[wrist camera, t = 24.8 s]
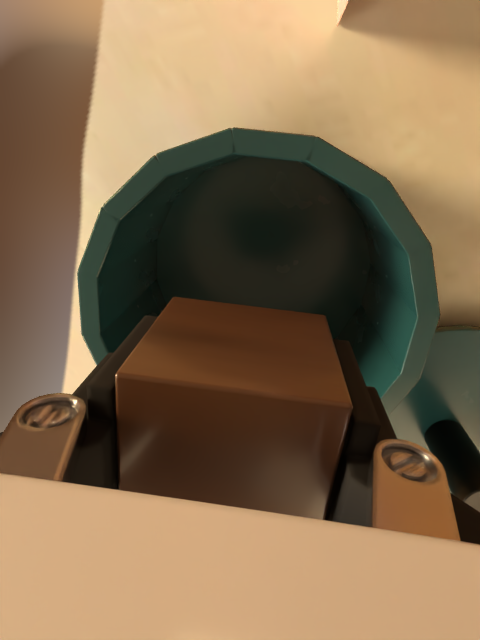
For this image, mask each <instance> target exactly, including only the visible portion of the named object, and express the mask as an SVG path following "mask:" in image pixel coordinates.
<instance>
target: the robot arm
mask: <svg viewBox="0 0 480 640" xmlns="http://www.w3.org/2000/svg"><path fill="white" fill-rule="evenodd" d="M157 318H158V317H155V316H147V315H145V316H144V317H143V318H142V320H141V321H140V322H139V323H138V324H137V325H136V327H135V328H134V329H133V330H132V331H131V333H130V334H129V335H128V336H127V337H126V339H125V340H124V341H123V342H122V343H121V345H120V346H119V347H118V348H117V349H116V351H115V352H114V353H108V354H107V355H106V356H105V357H104V358H103V359H102V361H101V362H100V363H99V364H98V365H97V366H96V368H95V369H94V370H93V371H92V372H91V373H90V374H89V376H88V377H87V378H86V379H85V380H84V381H83V383H82V384H81V385H80V386H79V387H78V388H77V390H76V391H75V392H74V393H73V394H72V395H71V394H64V393H56V394H47V395H43V396H39V397H37V398H34V399H32V400H30V401H28V402H26V403H25V404H23V405H22V406H21V407H20V408H19V409H18V410H17V411H16V413H15V414H14V416H13V417H12V419H11V421H10V422H9V424H8V426H7V427H6V429H5V430H4V432H1V433H0V640H480V512H479V511H477V510H476V509H474V508H473V507H471V506H470V505H468V504H467V503H465V502H464V501H462V500H460V499H459V498H457V497H456V496H454V495H453V494H451V493H450V490H449V486H448V481H447V477H446V472H445V470H444V467H443V465H442V463H441V462H440V461H439V460H438V459H437V457H436V456H434V455H433V454H432V453H431V452H429V451H428V450H427V449H425V448H423V447H421V446H419V445H418V444H415V443H412V442H410V441H407V440H402V439H397V437H396V435H395V432H394V430H393V427H392V425H391V423H390V420H389V418H388V416H387V413H386V411H385V408H384V406H383V404H382V401H381V399H380V397H379V394H378V392H377V390H376V388H375V387H371V386H366V384H365V381H364V379H363V376H362V374H361V371H360V368H359V366H358V363H357V360H356V358H355V355H354V353H353V350H352V347H351V345H350V342H349V341H345V340H337V339H333V342H334V345H335V349H336V352H337V355H338V359H339V362H340V365H341V369H342V372H343V375H344V379H345V382H346V385H347V389H348V392H349V395H350V399H351V402H352V406H353V408H352V412H351V416H350V420H349V424H348V428H347V432H346V436H345V440H344V444H343V448H342V452H341V456H340V460H339V464H338V468H337V471H336V475H335V479H334V483H333V487H332V491H331V495H330V499H329V503H328V507H327V511H326V515H325V519H324V520H319V519H313V518H306V517H299V516H292V515H286V514H279V513H272V512H265V511H259V510H252V509H245V508H238V507H232V506H225V505H218V504H211V503H205V502H198V501H191V500H184V499H177V498H170V497H163V496H156V495H149V494H142V493H136V492H129V491H122V490H119V480H118V449H117V418H116V388H115V375H116V373H117V371H118V370H119V368H120V367H121V366H122V364H123V363H124V362H125V360H126V359H127V358H128V356H129V355H130V354H131V352H132V351H133V350H134V348H135V347H136V346H137V344H138V343H139V342H140V340H141V339H142V338H143V336H144V335H145V334H146V332H147V331H148V330H149V328H150V327H151V326H152V324H153V323H154V322H155V320H156V319H157Z"/></svg>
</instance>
